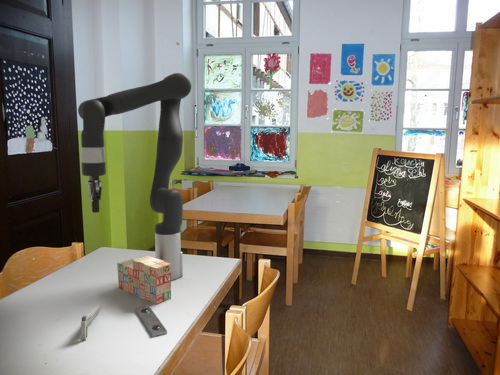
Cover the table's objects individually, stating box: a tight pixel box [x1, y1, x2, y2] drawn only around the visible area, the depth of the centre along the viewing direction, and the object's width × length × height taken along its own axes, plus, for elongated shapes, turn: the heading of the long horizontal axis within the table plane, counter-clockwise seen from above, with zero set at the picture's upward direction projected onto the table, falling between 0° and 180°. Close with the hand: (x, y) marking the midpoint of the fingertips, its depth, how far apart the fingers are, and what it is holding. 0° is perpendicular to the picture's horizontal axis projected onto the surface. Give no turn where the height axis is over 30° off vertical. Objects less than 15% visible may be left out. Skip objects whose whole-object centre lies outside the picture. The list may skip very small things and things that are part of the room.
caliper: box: [80, 305, 102, 341], centre depth 116 cm, size 20×1×6 cm, turn 9°
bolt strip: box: [135, 305, 168, 338], centre depth 118 cm, size 4×18×1 cm, turn 29°
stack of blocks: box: [116, 255, 172, 305], centre depth 137 cm, size 21×6×12 cm, turn 51°
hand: (95, 212), depth 138 cm, fingers closed
